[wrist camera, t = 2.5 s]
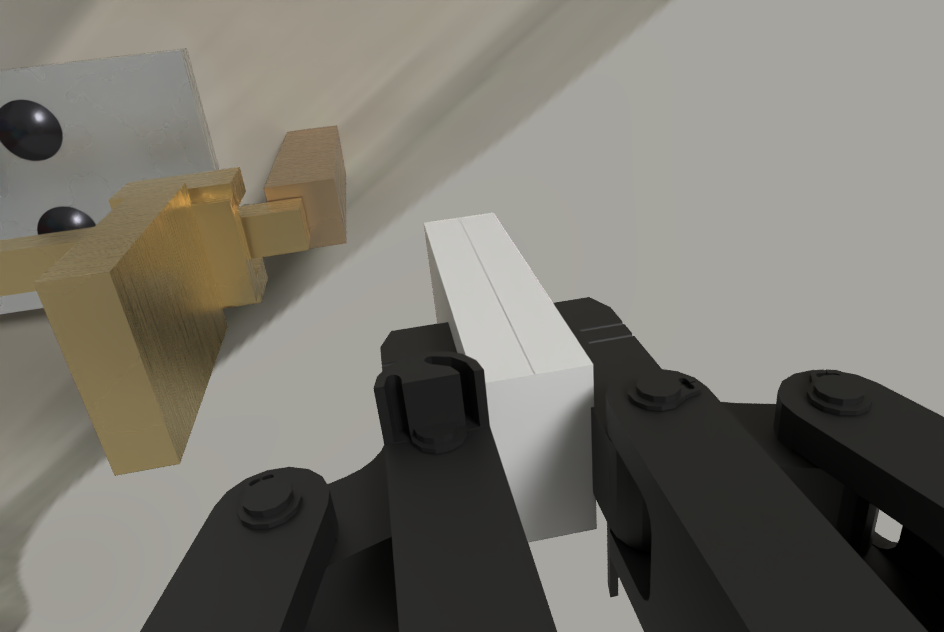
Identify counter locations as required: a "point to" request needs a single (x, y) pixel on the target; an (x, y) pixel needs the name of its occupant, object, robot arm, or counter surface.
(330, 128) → the beam
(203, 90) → the counter surface
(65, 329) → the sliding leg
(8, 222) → the flange plate
